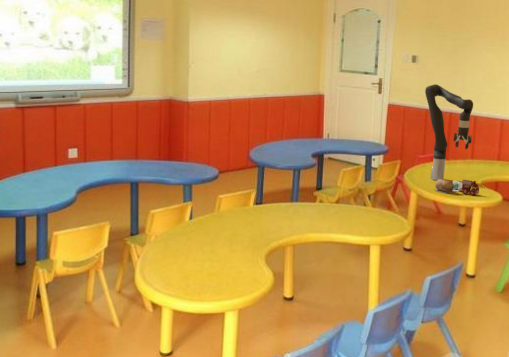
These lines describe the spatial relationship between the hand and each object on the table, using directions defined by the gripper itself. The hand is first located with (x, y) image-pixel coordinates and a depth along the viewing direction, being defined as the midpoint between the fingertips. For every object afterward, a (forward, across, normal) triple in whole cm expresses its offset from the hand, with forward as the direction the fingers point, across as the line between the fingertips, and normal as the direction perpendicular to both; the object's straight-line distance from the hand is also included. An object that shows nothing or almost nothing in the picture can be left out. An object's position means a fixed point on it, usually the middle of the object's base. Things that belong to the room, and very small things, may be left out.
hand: (461, 147), depth 489 cm
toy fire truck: (+30, -19, +11) cm, 38 cm away
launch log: (+30, -5, +22) cm, 37 cm away
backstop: (+30, -5, +8) cm, 31 cm away
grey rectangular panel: (+30, -5, +15) cm, 34 cm away
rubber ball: (+27, -5, +7) cm, 28 cm away
